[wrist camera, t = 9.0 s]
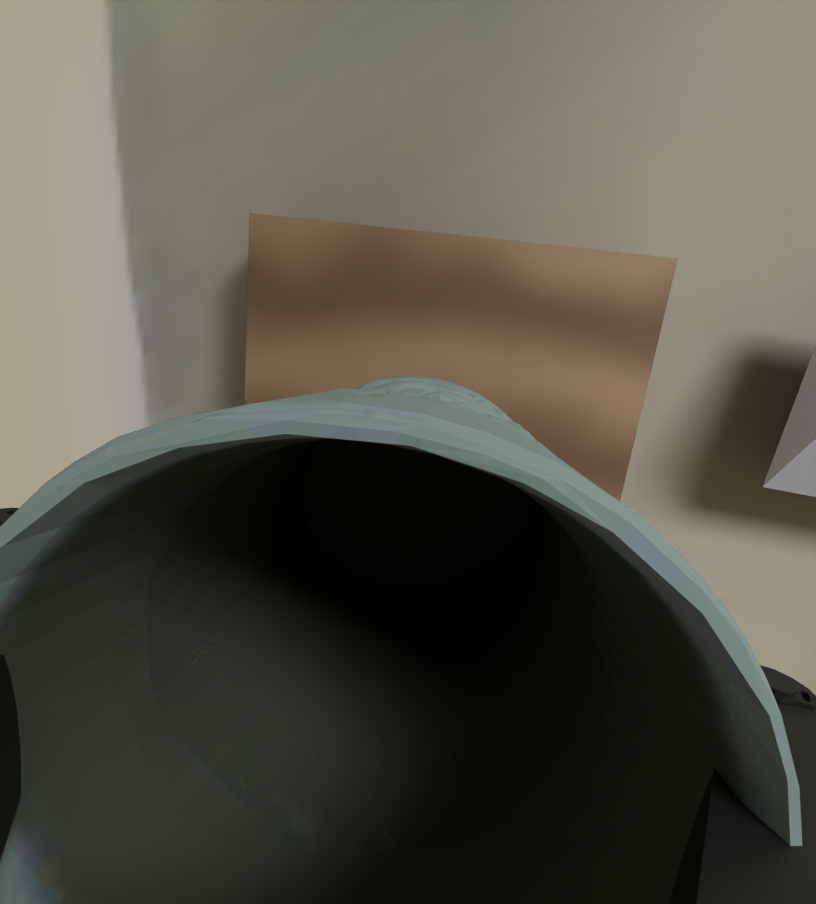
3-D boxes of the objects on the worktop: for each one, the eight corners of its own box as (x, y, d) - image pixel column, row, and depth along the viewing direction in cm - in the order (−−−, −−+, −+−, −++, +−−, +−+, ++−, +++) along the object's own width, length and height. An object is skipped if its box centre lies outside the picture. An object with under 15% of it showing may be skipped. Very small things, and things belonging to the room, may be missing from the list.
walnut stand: (281, 227, 26) (249, 213, 22) (644, 267, 25) (677, 258, 21) (267, 550, 31) (239, 583, 27) (571, 597, 30) (586, 639, 26)
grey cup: (266, 610, 19) (-40, 1066, 7) (269, 327, 16) (-199, 357, 5) (546, 647, 18) (690, 1223, 7) (597, 356, 16) (981, 475, 4)
